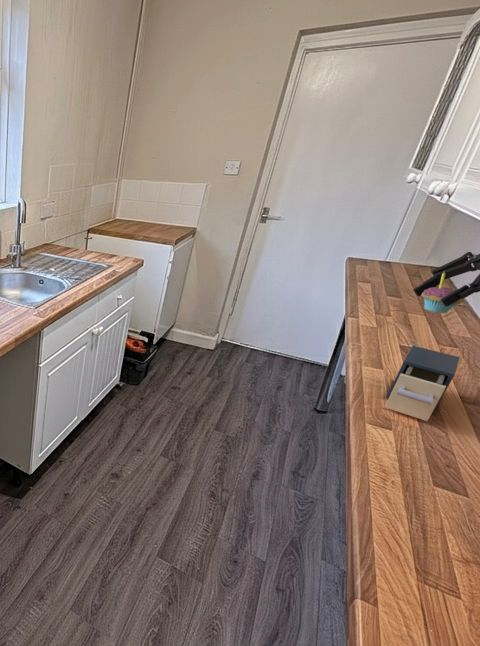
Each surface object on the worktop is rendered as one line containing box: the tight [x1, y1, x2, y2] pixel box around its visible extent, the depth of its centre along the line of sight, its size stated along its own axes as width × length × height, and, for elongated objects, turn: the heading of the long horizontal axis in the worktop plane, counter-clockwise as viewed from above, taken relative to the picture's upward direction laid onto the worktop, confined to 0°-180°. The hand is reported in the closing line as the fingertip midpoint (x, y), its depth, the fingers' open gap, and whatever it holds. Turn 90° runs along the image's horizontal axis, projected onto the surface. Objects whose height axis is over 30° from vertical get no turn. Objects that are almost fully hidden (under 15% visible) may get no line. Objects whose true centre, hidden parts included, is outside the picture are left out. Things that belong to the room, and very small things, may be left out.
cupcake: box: [420, 271, 465, 314], centre depth 123 cm, size 9×8×12 cm
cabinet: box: [386, 345, 461, 414], centre depth 112 cm, size 15×9×12 cm, turn 129°
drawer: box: [384, 366, 446, 422], centre depth 105 cm, size 18×8×10 cm, turn 129°
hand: (429, 297), depth 124 cm, fingers closed on cupcake, 8 cm apart
